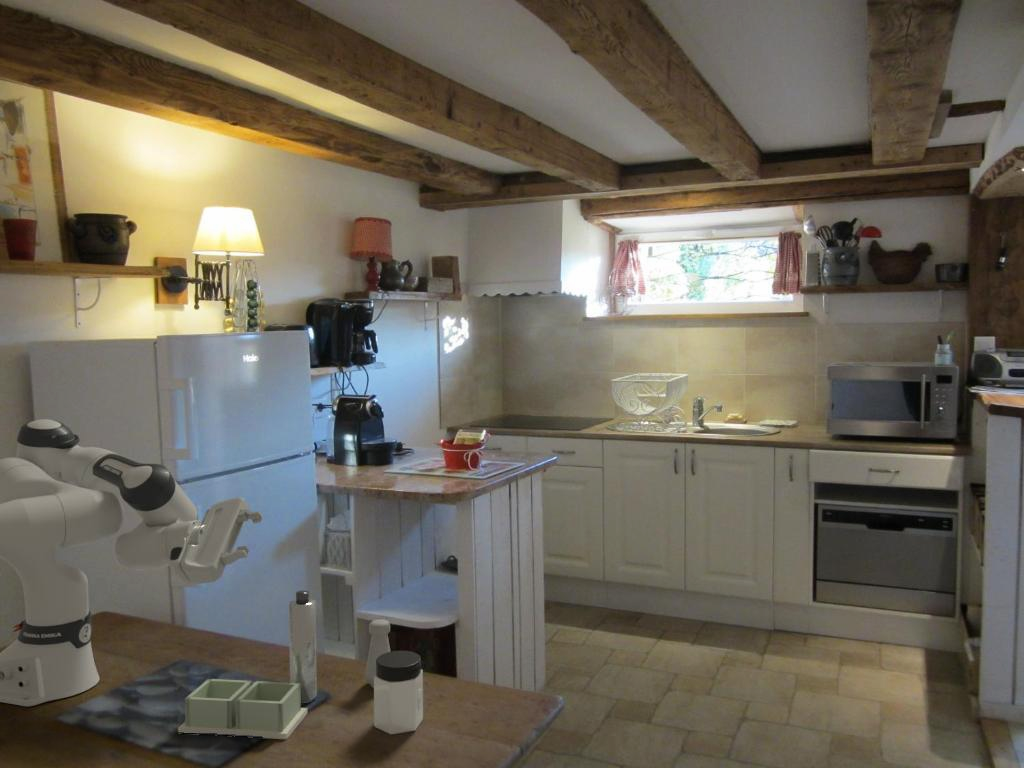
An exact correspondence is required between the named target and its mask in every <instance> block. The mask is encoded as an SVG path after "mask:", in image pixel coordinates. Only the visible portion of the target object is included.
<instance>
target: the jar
mask: <svg viewBox="0 0 1024 768" xmlns="http://www.w3.org/2000/svg"><path fill="white" fill-rule="evenodd" d="M423 671H424V670H423V669H422V658H421V655H419V654H418V653H416V652H414V651H409V650H393V651H390V652H387V653H384V654H382V655H380V656H379V657H378V658H377V659H376V675H375V676H374V688H373V719H374V720H373V726H374V727H375V728H377V729H378V730H380V731H383V732H385V733H387V734H389V735H396V734H403V733H409V732H414V731H416V730H417V728H419V726H420V724H422V721H423V719H424V686H423V685H424V681H423V680H424V679H423V678H424V675H423V674H424V672H423Z"/></svg>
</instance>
